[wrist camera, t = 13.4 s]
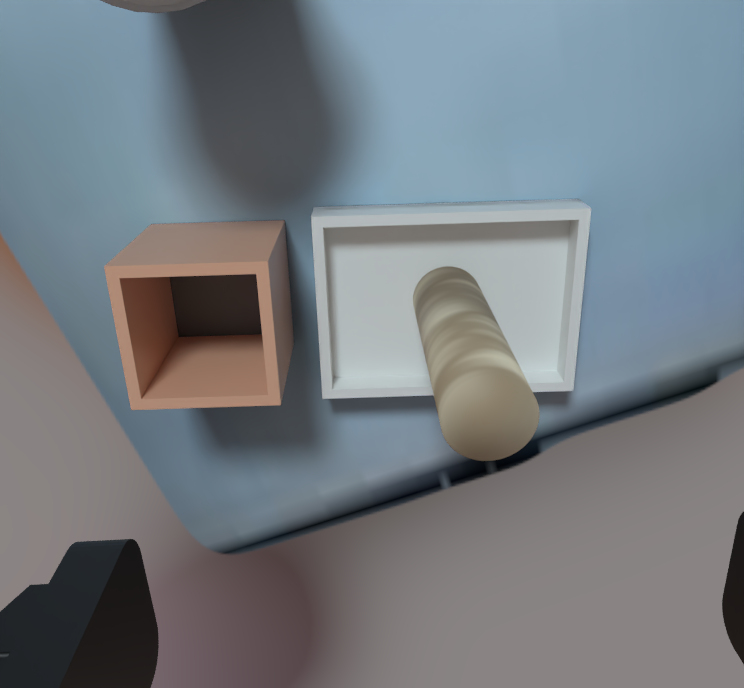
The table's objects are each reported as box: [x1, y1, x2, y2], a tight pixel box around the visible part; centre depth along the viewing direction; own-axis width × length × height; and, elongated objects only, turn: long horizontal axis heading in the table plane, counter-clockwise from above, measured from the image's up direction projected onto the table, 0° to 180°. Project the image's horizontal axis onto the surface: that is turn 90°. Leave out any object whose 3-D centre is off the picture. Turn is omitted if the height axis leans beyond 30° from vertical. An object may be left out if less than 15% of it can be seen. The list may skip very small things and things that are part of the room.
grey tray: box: [311, 199, 591, 399], centre depth 41 cm, size 15×11×2 cm
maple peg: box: [413, 266, 539, 461], centre depth 35 cm, size 4×4×14 cm
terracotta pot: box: [104, 220, 294, 410], centre depth 38 cm, size 8×8×8 cm
